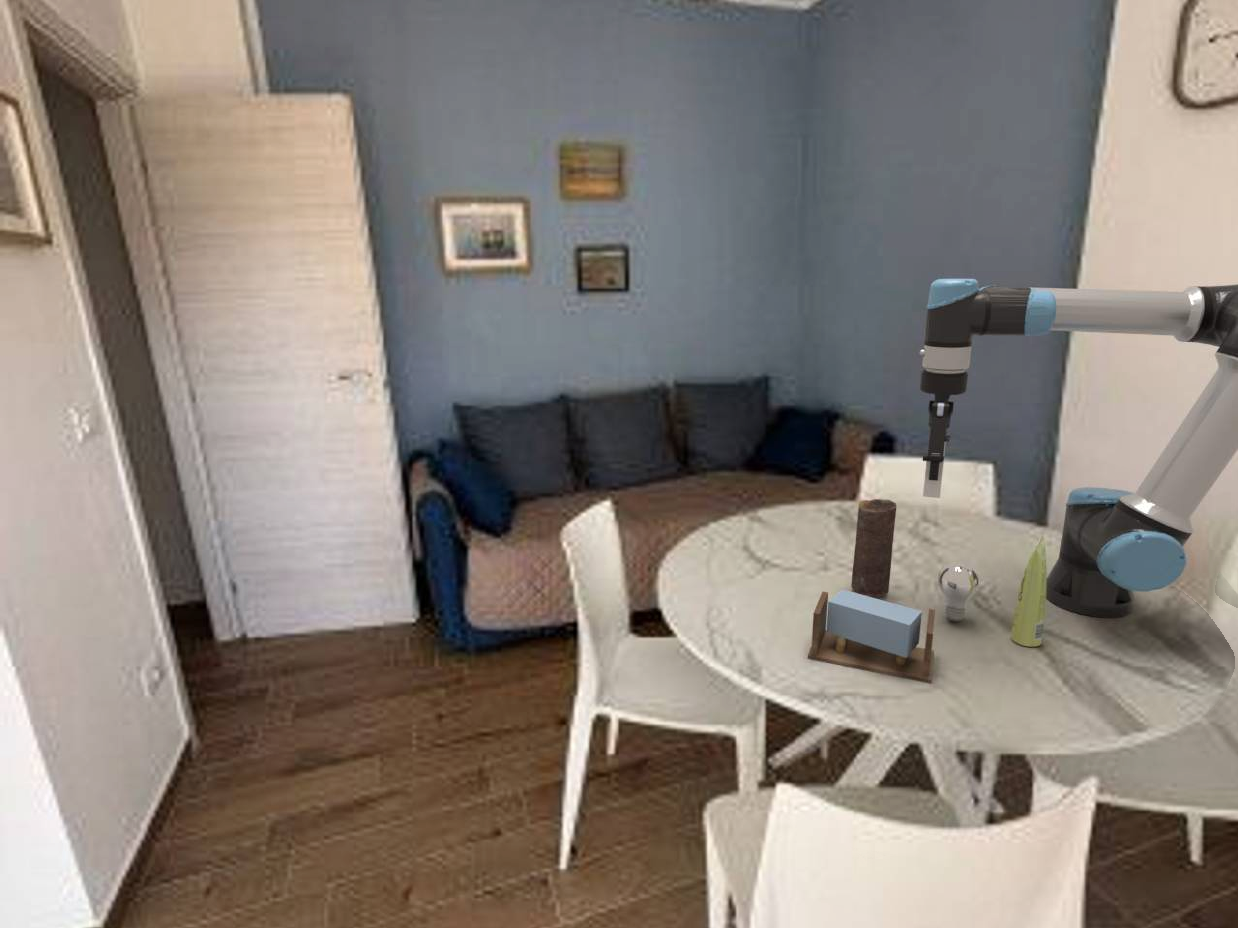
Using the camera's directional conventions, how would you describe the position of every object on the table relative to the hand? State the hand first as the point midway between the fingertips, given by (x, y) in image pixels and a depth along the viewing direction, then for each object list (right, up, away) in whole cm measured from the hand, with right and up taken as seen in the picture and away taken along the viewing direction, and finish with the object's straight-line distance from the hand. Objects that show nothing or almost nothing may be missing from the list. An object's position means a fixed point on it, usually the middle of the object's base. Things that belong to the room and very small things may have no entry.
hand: (933, 485), depth 134 cm
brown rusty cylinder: (-6, -23, +18) cm, 30 cm away
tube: (+16, -28, -2) cm, 32 cm away
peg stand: (-13, -30, -5) cm, 33 cm away
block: (-13, -26, -7) cm, 30 cm away
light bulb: (+6, -26, +6) cm, 28 cm away
